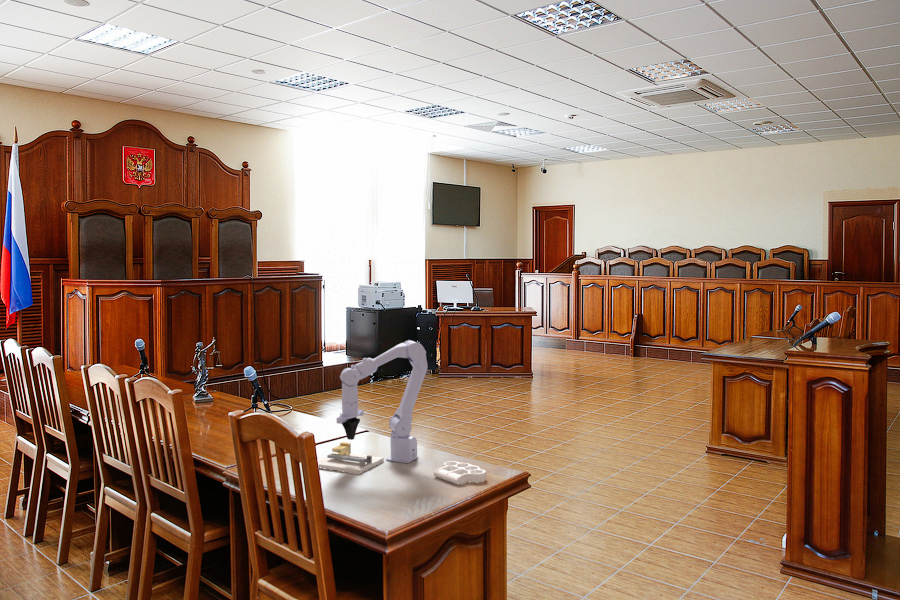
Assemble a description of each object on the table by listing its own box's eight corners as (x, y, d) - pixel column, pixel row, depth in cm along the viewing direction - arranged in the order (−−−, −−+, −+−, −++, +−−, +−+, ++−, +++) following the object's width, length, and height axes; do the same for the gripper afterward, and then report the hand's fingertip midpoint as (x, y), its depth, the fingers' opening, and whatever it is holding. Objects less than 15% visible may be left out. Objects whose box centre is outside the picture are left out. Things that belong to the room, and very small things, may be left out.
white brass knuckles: (427, 476, 224) (458, 467, 234) (463, 489, 211) (495, 479, 221) (427, 467, 224) (458, 458, 234) (463, 479, 211) (495, 469, 221)
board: (383, 461, 241) (383, 451, 241) (359, 474, 226) (359, 462, 226) (338, 455, 249) (338, 445, 249) (312, 467, 235) (312, 456, 235)
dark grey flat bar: (369, 461, 234) (369, 457, 234) (365, 463, 231) (365, 459, 231) (332, 456, 241) (332, 452, 241) (327, 458, 238) (327, 454, 238)
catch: (350, 453, 246) (350, 442, 246) (340, 458, 240) (340, 447, 240) (342, 452, 247) (342, 441, 247) (332, 457, 241) (332, 446, 241)
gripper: (351, 397, 245) (352, 433, 246) (329, 404, 232) (329, 442, 233) (368, 398, 242) (368, 435, 243) (345, 406, 229) (346, 444, 230)
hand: (350, 439), depth 237 cm, fingers closed
